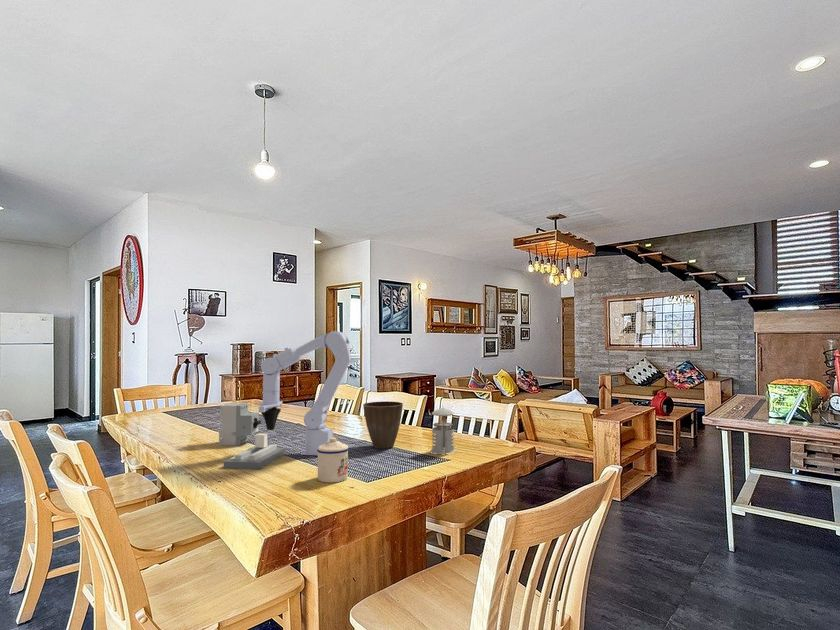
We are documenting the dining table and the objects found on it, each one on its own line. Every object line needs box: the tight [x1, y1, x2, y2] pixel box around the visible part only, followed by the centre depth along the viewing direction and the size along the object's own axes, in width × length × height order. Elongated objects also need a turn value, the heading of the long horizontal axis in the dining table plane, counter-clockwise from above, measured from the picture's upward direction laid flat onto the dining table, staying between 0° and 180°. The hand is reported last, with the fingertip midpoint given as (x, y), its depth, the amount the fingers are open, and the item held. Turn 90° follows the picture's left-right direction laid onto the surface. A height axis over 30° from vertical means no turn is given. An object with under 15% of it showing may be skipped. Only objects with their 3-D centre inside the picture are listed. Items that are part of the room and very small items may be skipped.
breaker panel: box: [223, 444, 288, 470], centre depth 156 cm, size 20×12×4 cm, turn 172°
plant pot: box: [362, 400, 404, 449], centre depth 175 cm, size 15×15×16 cm
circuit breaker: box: [218, 402, 262, 446], centre depth 182 cm, size 8×14×15 cm, turn 89°
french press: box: [430, 381, 457, 455], centre depth 166 cm, size 10×12×25 cm
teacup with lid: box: [317, 436, 350, 484], centre depth 137 cm, size 12×9×12 cm
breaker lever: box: [254, 433, 268, 452], centre depth 159 cm, size 3×3×6 cm
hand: (270, 429), depth 166 cm, fingers closed
